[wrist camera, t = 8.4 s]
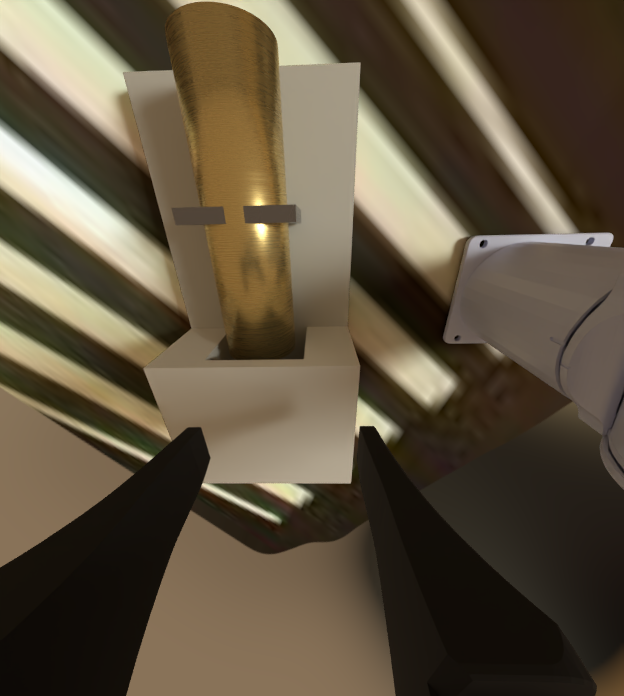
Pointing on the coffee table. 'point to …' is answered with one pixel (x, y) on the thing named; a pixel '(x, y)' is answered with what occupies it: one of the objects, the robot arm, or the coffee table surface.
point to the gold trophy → (237, 169)
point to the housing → (307, 288)
